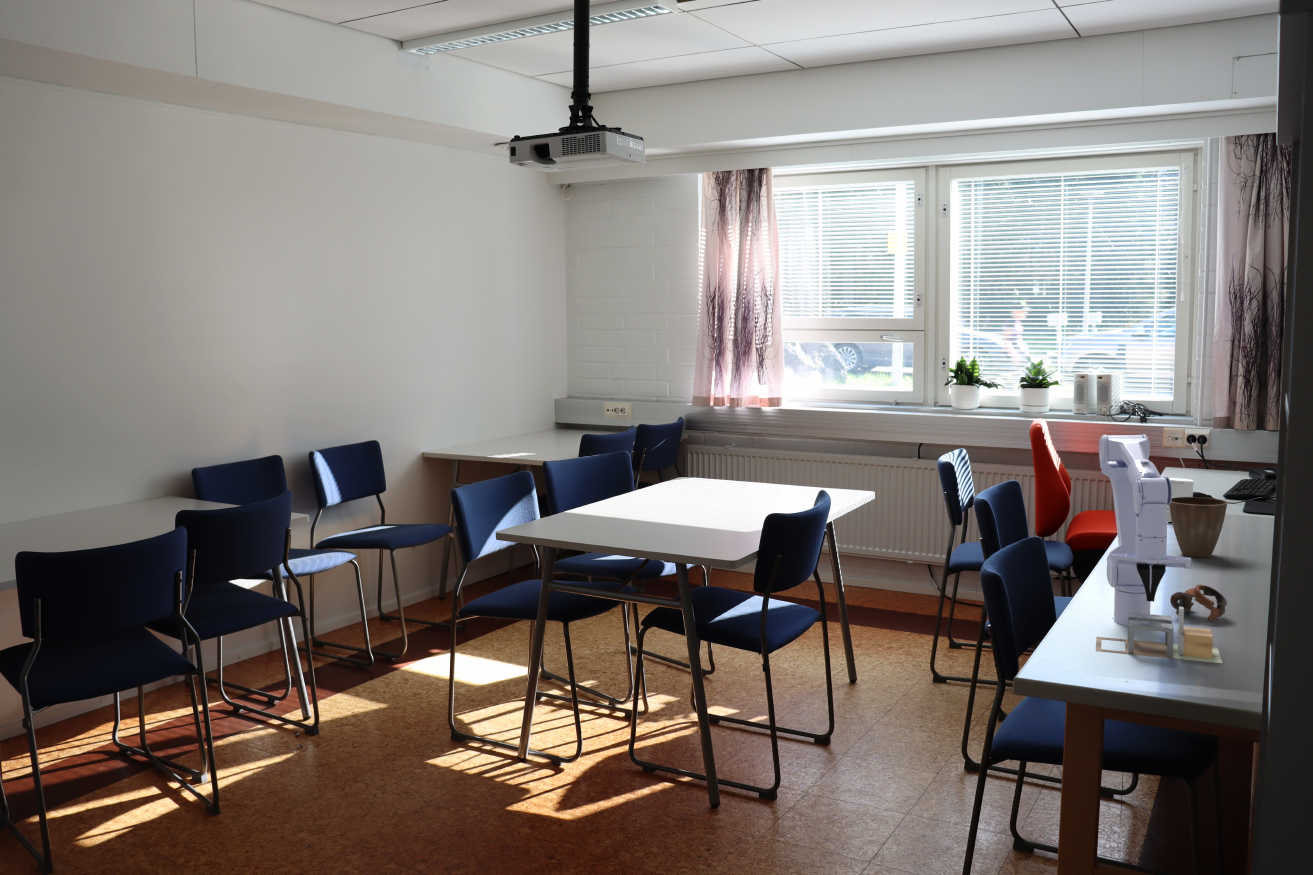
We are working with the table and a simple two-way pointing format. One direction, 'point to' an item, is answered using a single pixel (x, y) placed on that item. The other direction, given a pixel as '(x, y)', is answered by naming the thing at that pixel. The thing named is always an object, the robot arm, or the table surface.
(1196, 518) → the plant pot
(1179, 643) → the paddle
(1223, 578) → the table surface
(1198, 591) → the brown headphones
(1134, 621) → the tunnel
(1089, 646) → the table surface
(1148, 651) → the board
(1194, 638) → the block
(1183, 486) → the skincare box
